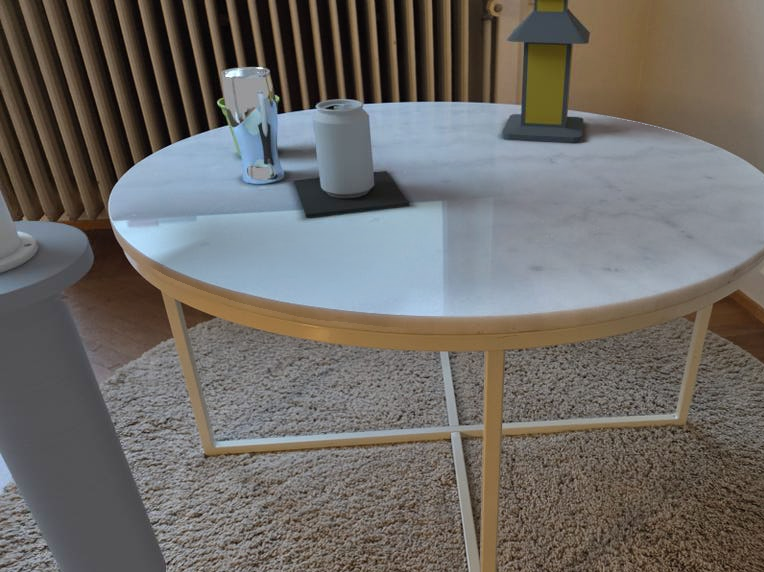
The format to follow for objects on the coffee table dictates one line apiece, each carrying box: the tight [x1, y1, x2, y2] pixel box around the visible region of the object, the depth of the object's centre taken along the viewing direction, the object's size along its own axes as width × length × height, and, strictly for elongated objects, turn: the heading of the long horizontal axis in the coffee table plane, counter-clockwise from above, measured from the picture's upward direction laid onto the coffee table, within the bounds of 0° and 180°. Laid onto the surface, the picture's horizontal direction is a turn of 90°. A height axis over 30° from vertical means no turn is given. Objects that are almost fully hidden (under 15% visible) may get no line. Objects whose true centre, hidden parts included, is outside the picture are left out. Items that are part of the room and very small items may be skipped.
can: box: [312, 98, 374, 198], centre depth 93 cm, size 8×8×12 cm
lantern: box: [501, 0, 591, 144], centre depth 117 cm, size 14×14×30 cm
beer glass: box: [220, 66, 285, 185], centre depth 98 cm, size 7×7×15 cm
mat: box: [293, 170, 410, 218], centre depth 96 cm, size 14×14×1 cm
